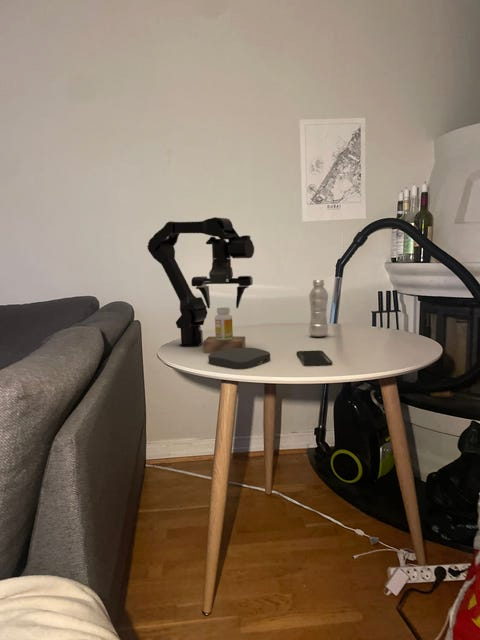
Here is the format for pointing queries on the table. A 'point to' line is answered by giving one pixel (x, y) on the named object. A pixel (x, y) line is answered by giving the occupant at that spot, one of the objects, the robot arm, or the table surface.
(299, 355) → the phone
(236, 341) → the block
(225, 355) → the media streaming box
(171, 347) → the table surface
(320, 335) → the plastic bottle
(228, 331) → the supplement bottle
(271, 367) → the table surface
